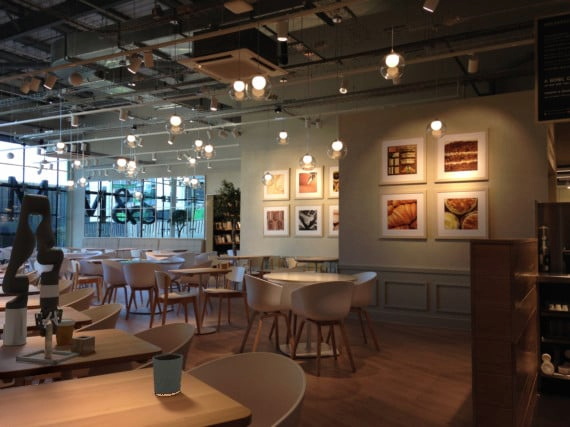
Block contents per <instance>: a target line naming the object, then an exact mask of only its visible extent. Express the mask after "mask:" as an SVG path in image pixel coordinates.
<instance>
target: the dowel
mask: <svg viewBox="0 0 570 427" xmlns="http://www.w3.org/2000/svg"><path fill="white" fill-rule="evenodd" d="M52 325H53V324H51V323H47V325H46V337H44V350H45V353H44V359H51V358H53V353H52V350H53V334H52Z"/></svg>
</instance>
